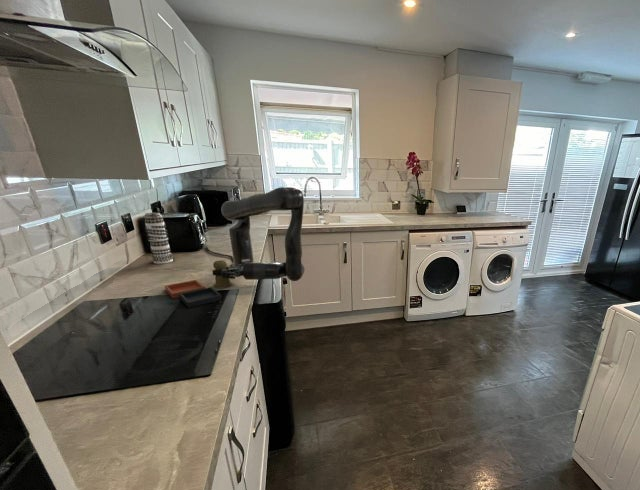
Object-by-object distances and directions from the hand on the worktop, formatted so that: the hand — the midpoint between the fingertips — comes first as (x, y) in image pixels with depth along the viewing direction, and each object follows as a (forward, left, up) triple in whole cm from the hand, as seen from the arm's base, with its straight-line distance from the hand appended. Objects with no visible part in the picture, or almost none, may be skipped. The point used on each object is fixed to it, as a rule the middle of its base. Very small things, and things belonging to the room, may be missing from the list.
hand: (215, 271), depth 139 cm
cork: (+2, +2, -7) cm, 7 cm away
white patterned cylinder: (-53, -9, -7) cm, 54 cm away
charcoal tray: (+12, -10, -7) cm, 17 cm away
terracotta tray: (-1, -12, -7) cm, 14 cm away
